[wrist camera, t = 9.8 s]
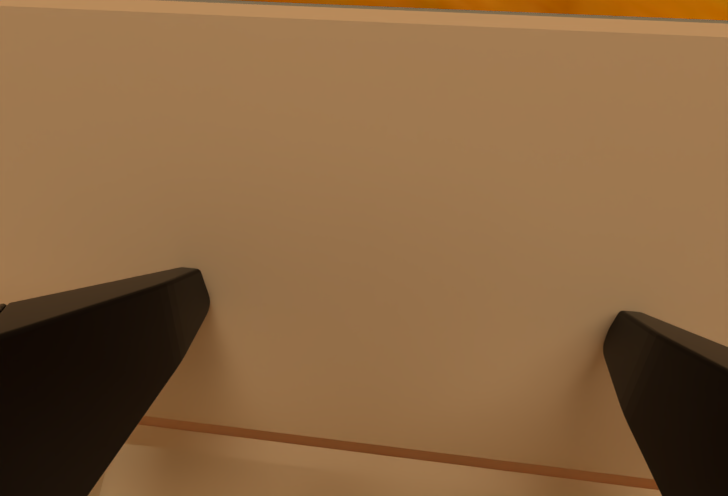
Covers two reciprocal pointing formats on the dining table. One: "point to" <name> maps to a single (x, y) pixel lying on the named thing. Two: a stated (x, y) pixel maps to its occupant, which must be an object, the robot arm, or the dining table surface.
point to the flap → (378, 206)
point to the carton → (325, 468)
